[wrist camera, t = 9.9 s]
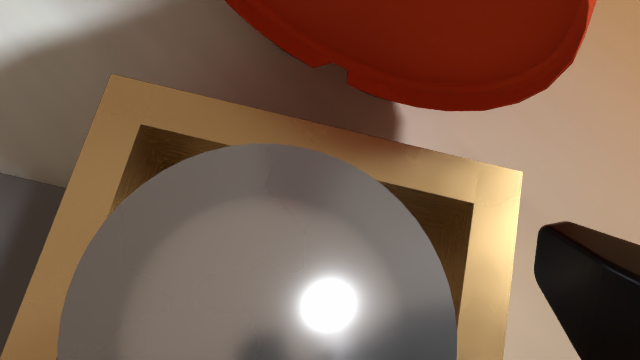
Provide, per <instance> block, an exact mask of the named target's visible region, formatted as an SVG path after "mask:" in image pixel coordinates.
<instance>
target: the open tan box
mask: <svg viewBox="0 0 640 360" xmlns="http://www.w3.org/2000/svg"><path fill="white" fill-rule="evenodd" d="M253 143H260V144H283V145H291V146H298V147H303V148H307V149H311V150H315V151H318V152H322V153H325V154H327V155H330V156H333V157H335V158H338V159H340V160H343V161H345V162H347V163H349V164H350V165H352V166H354V167H356V168H358V169H360V170H361V171H363V172H365V173H366V174H368V175H369V176H371V177H372V178H373V179H375V180H376V181H378V182H379V183H380V184H382V185H383V186H384V187H385V188H387V189H388V190H389V191H390V192H391V193H392V194H393V195H394V196H395V197H396V198H397V199H399V200H400V201H401V202H402V204H403V205H404V206H405V207H406V208H407V209H408V211H409V212H410V213H411V214H412V215H413V216H414V218H415V219H416V220H417V221H418V223H419V224H420V226H421V227H422V229H423V230H424V232H425V234H426V235H427V237H428V238H429V240H430V241H431V243H432V245H433V247H434V249H435V251H436V253H437V255H438V257H439V259H440V261H441V264H442V267H443V270H444V272H445V275H446V278H447V281H448V284H449V287H450V292H451V296H452V300H453V305H454V309H455V318H456V329H457V360H503V354H504V344H505V335H506V326H507V316H508V307H509V297H510V288H511V279H512V269H513V260H514V250H515V241H516V232H517V222H518V213H519V203H520V194H521V185H522V175H523V172H521V171H517V170H512V169H508V168H504V167H500V166H496V165H491V164H487V163H483V162H479V161H475V160H470V159H466V158H462V157H458V156H454V155H449V154H445V153H441V152H437V151H433V150H428V149H424V148H420V147H416V146H412V145H407V144H403V143H399V142H395V141H391V140H386V139H382V138H378V137H374V136H370V135H366V134H361V133H357V132H353V131H349V130H345V129H340V128H336V127H332V126H328V125H324V124H319V123H315V122H311V121H307V120H303V119H298V118H294V117H290V116H286V115H282V114H277V113H273V112H269V111H265V110H261V109H256V108H252V107H248V106H244V105H240V104H235V103H231V102H227V101H223V100H219V99H215V98H210V97H206V96H202V95H198V94H194V93H189V92H185V91H181V90H177V89H173V88H168V87H164V86H160V85H156V84H152V83H147V82H143V81H139V80H135V79H131V78H126V77H122V76H118V75H114V74H111V76H110V78H109V81H108V83H107V86H106V89H105V91H104V94H103V96H102V99H101V101H100V104H99V106H98V109H97V112H96V114H95V117H94V119H93V122H92V124H91V127H90V129H89V132H88V135H87V137H86V140H85V142H84V145H83V147H82V150H81V152H80V155H79V158H78V160H77V163H76V165H75V168H74V170H73V173H72V176H71V178H70V181H69V183H68V186H67V188H66V191H65V193H64V196H63V199H62V201H61V204H60V206H59V209H58V211H57V214H56V216H55V219H54V222H53V224H52V227H51V229H50V232H49V234H48V237H47V239H46V242H45V245H44V247H43V250H42V252H41V255H40V257H39V260H38V263H37V265H36V268H35V270H34V273H33V275H32V278H31V280H30V283H29V286H28V288H27V291H26V293H25V296H24V298H23V301H22V303H21V306H20V309H19V311H18V314H17V316H16V319H15V321H14V324H13V326H12V329H11V332H10V334H9V337H8V339H7V342H6V344H5V347H4V350H3V352H2V355H1V357H0V360H57V343H58V335H59V326H60V318H61V314H62V310H63V306H64V302H65V298H66V294H67V290H68V288H69V285H70V283H71V280H72V277H73V275H74V272H75V270H76V267H77V265H78V263H79V261H80V259H81V257H82V256H83V254H84V252H85V250H86V248H87V246H88V244H89V243H90V241H91V240H92V238H93V237H94V235H95V234H96V233H97V231H98V230H99V228H100V227H101V226H102V224H103V223H104V221H105V220H106V219H107V218H108V217H109V216H110V215H111V213H112V212H113V211H114V210H115V209H116V208H117V207H118V206H119V205H120V204H121V202H122V201H124V200H125V199H126V198H127V197H128V196H129V195H131V194H132V193H133V192H134V191H135V190H136V189H137V188H139V187H140V186H141V185H142V184H144V183H145V182H147V181H148V180H150V179H151V178H153V177H154V176H156V175H157V174H159V173H160V172H162V171H163V170H165V169H167V168H169V167H171V166H173V165H175V164H177V163H179V162H181V161H183V160H185V159H188V158H191V157H193V156H196V155H199V154H201V153H204V152H207V151H211V150H215V149H220V148H224V147H228V146H235V145H244V144H253Z"/></svg>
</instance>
